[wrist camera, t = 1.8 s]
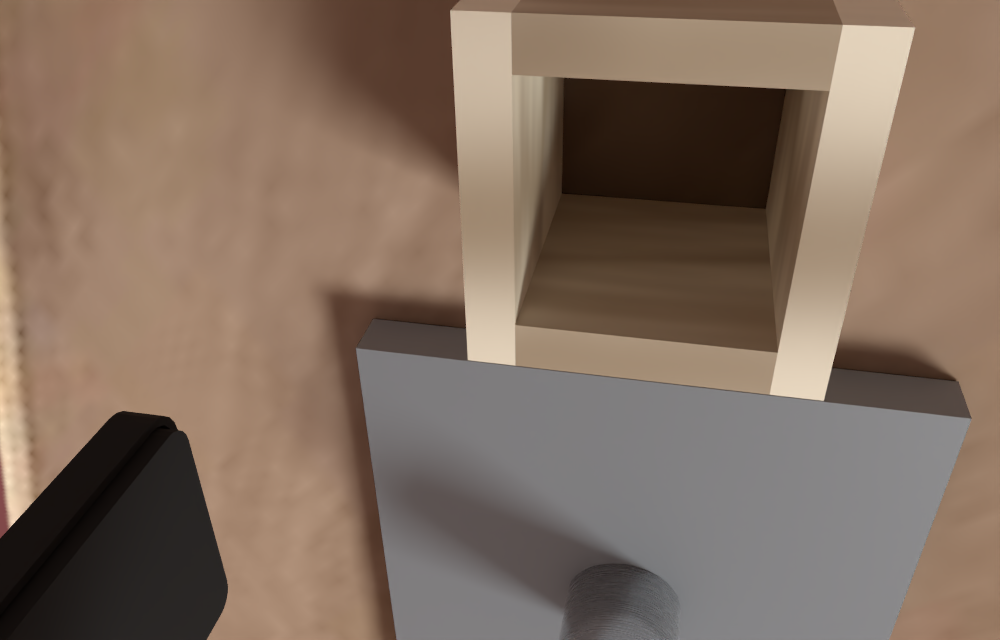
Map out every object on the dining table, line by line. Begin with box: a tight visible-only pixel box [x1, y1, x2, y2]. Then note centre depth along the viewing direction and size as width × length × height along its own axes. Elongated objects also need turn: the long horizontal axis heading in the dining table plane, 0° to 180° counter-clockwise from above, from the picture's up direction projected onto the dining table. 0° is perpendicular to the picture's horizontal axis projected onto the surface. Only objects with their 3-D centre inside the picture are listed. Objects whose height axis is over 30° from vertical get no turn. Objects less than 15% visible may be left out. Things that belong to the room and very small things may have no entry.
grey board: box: [356, 319, 972, 640], centre depth 28 cm, size 18×16×2 cm
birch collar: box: [450, 0, 915, 401], centre depth 18 cm, size 7×7×6 cm
